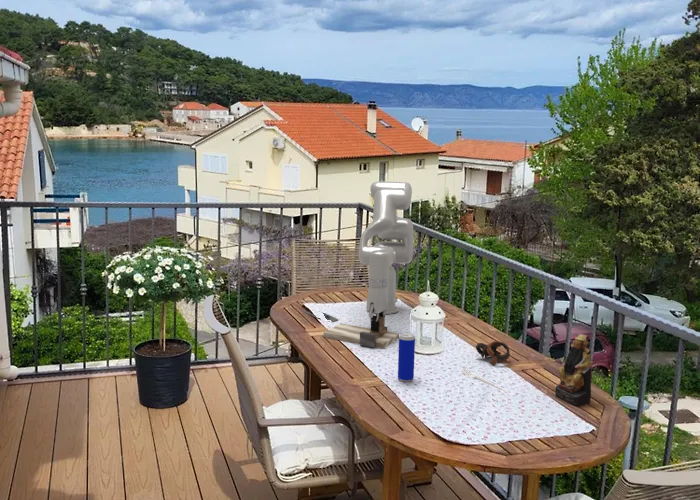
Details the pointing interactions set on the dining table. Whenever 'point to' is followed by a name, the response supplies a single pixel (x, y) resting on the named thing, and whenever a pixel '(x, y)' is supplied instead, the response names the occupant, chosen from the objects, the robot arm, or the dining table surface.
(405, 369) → the beverage can
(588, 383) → the statue
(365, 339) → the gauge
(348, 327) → the board
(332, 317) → the driftwood
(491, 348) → the brown looped ornament
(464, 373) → the fork
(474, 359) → the dining table surface
